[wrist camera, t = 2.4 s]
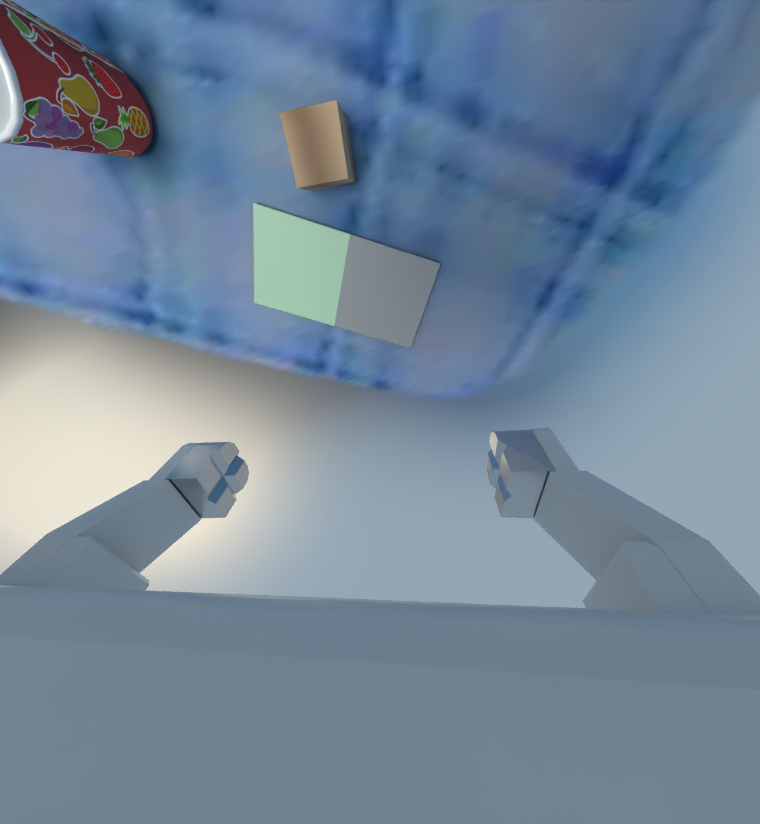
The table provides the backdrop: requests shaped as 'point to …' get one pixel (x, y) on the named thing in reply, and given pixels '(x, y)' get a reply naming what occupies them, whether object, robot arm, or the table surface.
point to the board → (339, 277)
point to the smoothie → (64, 92)
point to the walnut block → (319, 146)
